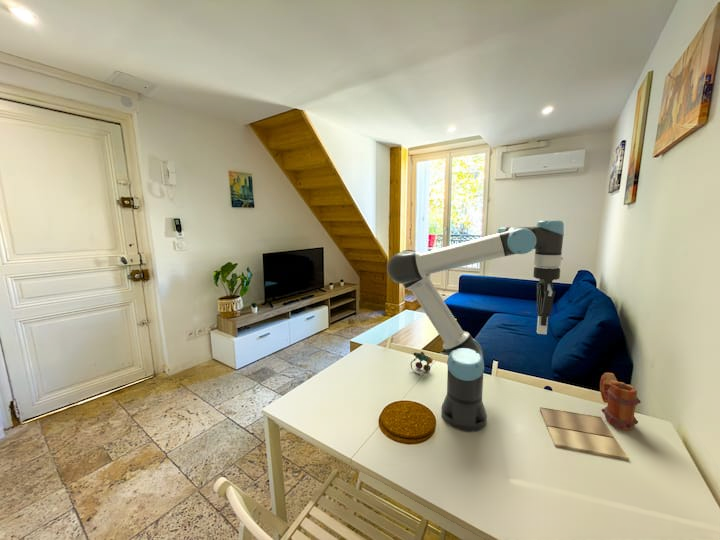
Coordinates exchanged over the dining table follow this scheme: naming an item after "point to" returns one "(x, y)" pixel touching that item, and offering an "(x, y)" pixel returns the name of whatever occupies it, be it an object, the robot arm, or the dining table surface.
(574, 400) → the dining table surface
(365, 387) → the dining table surface
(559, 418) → the plank
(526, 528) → the dining table surface
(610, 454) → the laid board
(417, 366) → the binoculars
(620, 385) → the mug
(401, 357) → the dining table surface
